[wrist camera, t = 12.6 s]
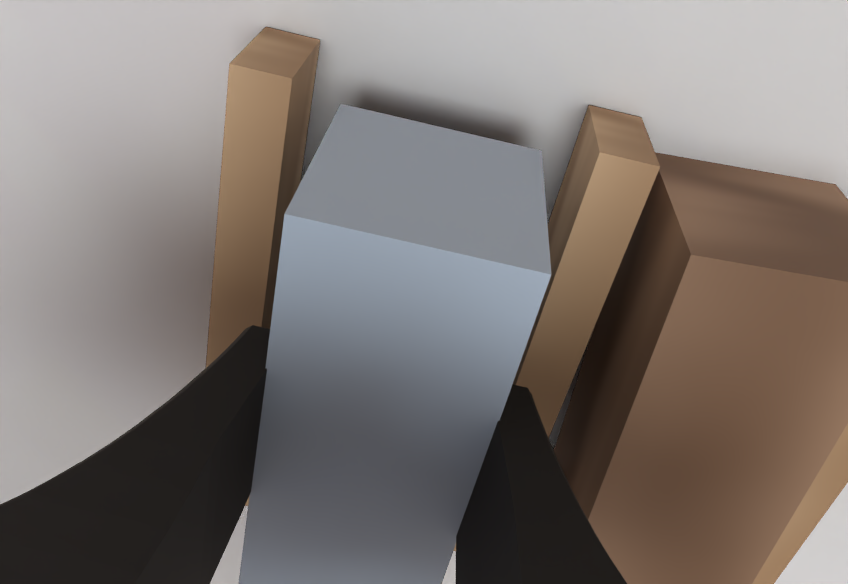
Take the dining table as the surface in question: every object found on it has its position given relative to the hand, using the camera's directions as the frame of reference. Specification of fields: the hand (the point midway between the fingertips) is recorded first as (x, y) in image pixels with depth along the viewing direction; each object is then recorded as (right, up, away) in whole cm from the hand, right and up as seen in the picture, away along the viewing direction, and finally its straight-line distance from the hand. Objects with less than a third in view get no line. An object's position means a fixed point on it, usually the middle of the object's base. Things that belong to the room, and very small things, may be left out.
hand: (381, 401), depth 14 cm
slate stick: (0, +1, +2) cm, 3 cm away
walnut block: (+6, +1, +4) cm, 7 cm away
